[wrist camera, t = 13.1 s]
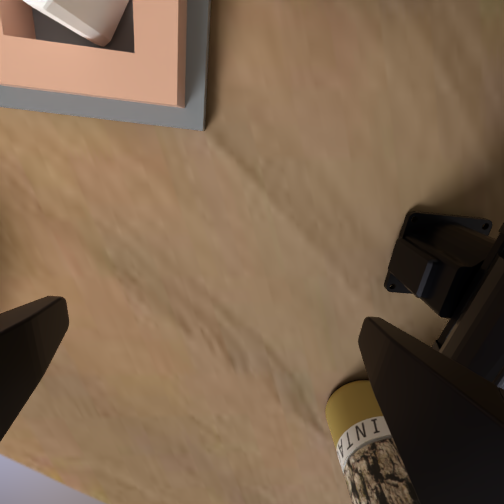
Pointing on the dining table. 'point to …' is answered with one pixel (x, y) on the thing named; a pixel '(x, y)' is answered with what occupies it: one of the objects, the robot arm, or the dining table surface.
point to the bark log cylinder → (367, 448)
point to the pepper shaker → (85, 16)
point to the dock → (126, 46)
